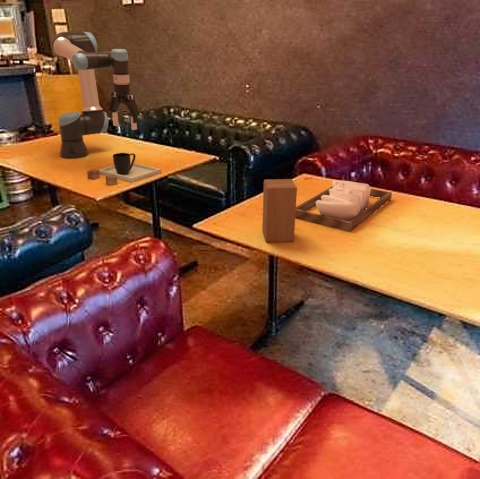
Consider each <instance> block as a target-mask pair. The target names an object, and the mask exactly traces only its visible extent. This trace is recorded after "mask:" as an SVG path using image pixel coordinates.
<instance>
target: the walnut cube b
mask: <svg viewBox="0 0 480 479" xmlns="http://www.w3.org/2000/svg"><path fill="white" fill-rule="evenodd" d="M104 176H105V184H106V185H108V187H109V186H110V185H111V186H117V185H118V179H117V176H115V175H114V174H112V175H104Z"/></svg>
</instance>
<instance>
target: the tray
mask: <svg viewBox="0 0 480 479" xmlns="http://www.w3.org/2000/svg"><path fill="white" fill-rule="evenodd" d="M131 163H132V161H130V165H131ZM98 170H99V174H100V176H101V175H102V176H105V175H112V174H114V175H115V176H117V180H121V181H125V182H129V183H134V182H138V181H140V180H143V179H147V178H151V177H153V176H156V175H159V174H162V169H161V168H157V167H153V166H150V165H149V166H148V165H145V164H141V163H136V162H134V163H133V166H132V168H131V170H130V171H129V174H127V175H119V174H117V171H116V169H115V166H114V165H111V166H107V167H103V168H100V169H98Z"/></svg>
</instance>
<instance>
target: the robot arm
mask: <svg viewBox="0 0 480 479" xmlns="http://www.w3.org/2000/svg"><path fill="white" fill-rule="evenodd" d="M50 46H51V49H52V51H53V53H54V54H55V55H57V56H59V57H62V58H63V57H64V58H66V59H67V60H69V61H70V62H72V66H73V67H74V69H75V70H76V71H77V74H78V77H79V78H78V79H79V86H80V92H81V98H82V104H83V108H82V109H81V113H80V111H70V112H65V113H62V114H60V115H59V116H58V126H59V132H60V139H61V145H60V150H59V156H60V157H61V158H64V159H79V158H85V157H87V156H88V155H89V150H88V148H87V146H86V143H85V141H84V136H91V135H97V134H99V135H100V134H103V133H104V134H105V133H106V132H107V130H108V128H109V116H108V113H107V112H106V111H104V109H103V108H102V107H101V105H100V100H99V99H100V98H99V95H98V93H99V92H98V88H97V82H96V74H95V70H104V69H105V70H106V69H112V77H113V83H114V84H113V91H114V92H111V93H110V94H111V95H110V96H111V98H110V101H109V103H108V104H109V105H108V109H107V110H108V111H110V112H111V116H112V122H113V124H112V125H113V126H114V127H115V126H116V127H117V126H119V114H118V109H119V106H120V105H121V104H124V106H126V108H127V110H128V112H129V113H130V115H131V116H130V124H131V130H132V131H135V130H138V127H137V126H138V125H137V123H138V116H140V115H141V114H140V110H139V108H138V106H137V102H136V100H135V95H133V94H131V95H130V92H131V85H130V81H131V80H130V70H129V68H130V67H129V56H128V54H129V53H128V51H127V49H125V48H113V49H111V51H110V50H109V51H108V50H107V51H101V52H98V49H99V48H98V43H97V40H96V37H95V36H94V34H92V32H89V31H61V32H57V33H56V34H55V35H54V36H53V37H52V38H51V40H50Z"/></svg>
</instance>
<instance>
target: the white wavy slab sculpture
mask: <svg viewBox="0 0 480 479" xmlns="http://www.w3.org/2000/svg"><path fill="white" fill-rule="evenodd" d="M332 186H333V188H332V189H329V188H328V189H329V194H330V195H322V196H321V200H322V201H321V200H317V201H316V202H315V203H316V207H317V210H318V212H319V214H320V215H324V216H328V217H332V218H336V219H341V220H345V221H351V220H352V219H353V218H355V217H356V216H357V215H359V214H360V213H361V212H363V211H364V210H366V208H368V207H369V204H370V198H371V197H370V191H371V187H370V185H369V184H368V183H364V182H355V181H351V180H338V179H333V180H332Z"/></svg>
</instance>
